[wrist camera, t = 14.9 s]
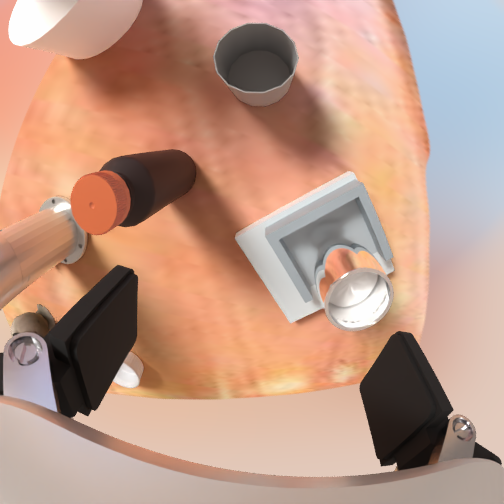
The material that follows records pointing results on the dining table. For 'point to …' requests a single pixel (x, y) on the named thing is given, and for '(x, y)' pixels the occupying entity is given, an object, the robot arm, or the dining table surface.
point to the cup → (256, 62)
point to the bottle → (130, 189)
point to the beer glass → (348, 278)
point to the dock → (296, 241)
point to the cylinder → (72, 25)
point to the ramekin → (130, 372)
